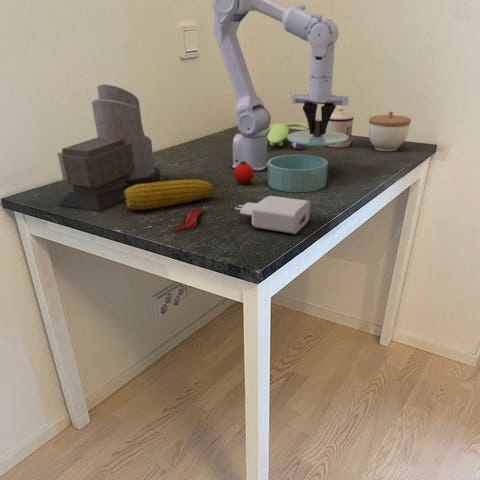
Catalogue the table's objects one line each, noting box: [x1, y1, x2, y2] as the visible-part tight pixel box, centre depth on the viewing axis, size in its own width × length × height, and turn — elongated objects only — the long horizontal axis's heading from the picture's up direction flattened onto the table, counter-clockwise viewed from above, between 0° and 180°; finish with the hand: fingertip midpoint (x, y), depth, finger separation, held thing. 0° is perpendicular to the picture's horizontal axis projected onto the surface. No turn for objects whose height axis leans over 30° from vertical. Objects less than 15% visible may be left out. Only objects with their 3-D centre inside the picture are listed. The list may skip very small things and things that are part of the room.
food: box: [124, 178, 214, 211], centre depth 111 cm, size 21×6×6 cm, turn 118°
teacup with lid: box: [326, 106, 355, 149], centre depth 158 cm, size 12×9×12 cm
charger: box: [234, 195, 311, 235], centre depth 100 cm, size 5×9×15 cm
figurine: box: [267, 122, 309, 150], centre depth 163 cm, size 18×27×6 cm
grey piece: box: [57, 83, 166, 212], centre depth 117 cm, size 30×16×24 cm, turn 156°
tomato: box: [233, 161, 255, 185], centre depth 125 cm, size 5×5×6 cm
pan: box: [267, 154, 329, 193], centre depth 124 cm, size 15×15×6 cm
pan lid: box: [286, 118, 348, 147], centre depth 127 cm, size 16×16×5 cm
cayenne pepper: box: [175, 207, 204, 231], centre depth 103 cm, size 12×5×2 cm, turn 150°
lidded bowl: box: [368, 111, 412, 152], centre depth 152 cm, size 13×13×11 cm
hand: (317, 133), depth 127 cm, fingers closed on pan lid, 2 cm apart
